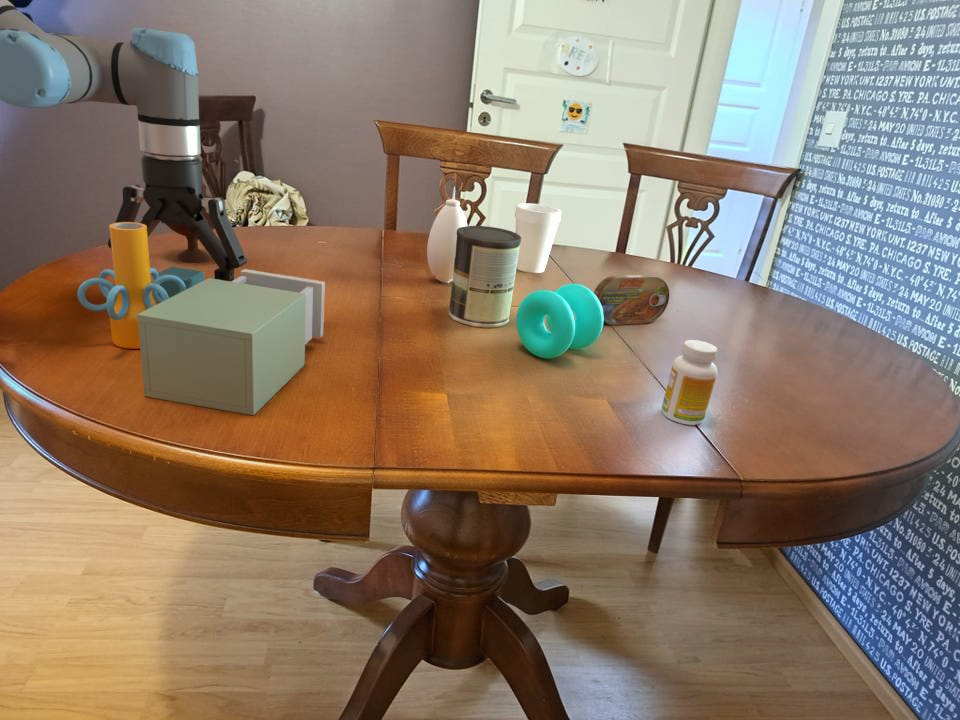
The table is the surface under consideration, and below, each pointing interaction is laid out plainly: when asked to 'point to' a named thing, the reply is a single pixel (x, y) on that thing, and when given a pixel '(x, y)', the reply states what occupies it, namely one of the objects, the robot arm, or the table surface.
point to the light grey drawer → (294, 284)
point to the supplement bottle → (690, 383)
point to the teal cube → (185, 275)
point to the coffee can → (483, 276)
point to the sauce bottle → (445, 240)
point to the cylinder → (128, 283)
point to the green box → (222, 345)
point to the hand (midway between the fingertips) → (180, 304)
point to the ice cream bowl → (192, 238)
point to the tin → (632, 299)
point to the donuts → (559, 320)
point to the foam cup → (535, 235)
